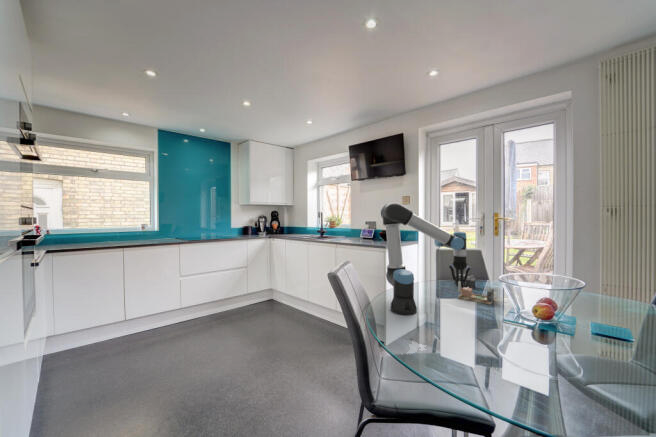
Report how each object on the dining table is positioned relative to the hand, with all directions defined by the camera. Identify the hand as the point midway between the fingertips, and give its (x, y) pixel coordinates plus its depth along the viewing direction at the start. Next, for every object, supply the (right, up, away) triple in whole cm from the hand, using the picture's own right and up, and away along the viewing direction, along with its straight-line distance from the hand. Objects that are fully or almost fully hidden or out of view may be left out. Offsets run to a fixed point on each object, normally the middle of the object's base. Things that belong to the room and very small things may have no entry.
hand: (459, 291), depth 172 cm
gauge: (+3, -2, -3) cm, 5 cm away
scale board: (+7, -3, -6) cm, 10 cm away
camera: (+13, -3, +23) cm, 26 cm away
